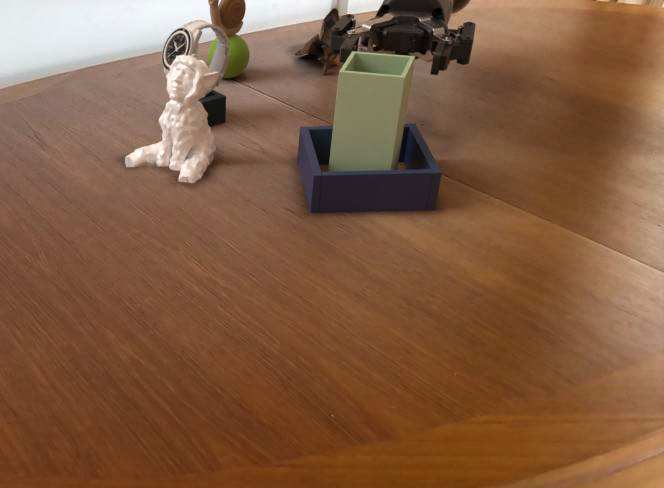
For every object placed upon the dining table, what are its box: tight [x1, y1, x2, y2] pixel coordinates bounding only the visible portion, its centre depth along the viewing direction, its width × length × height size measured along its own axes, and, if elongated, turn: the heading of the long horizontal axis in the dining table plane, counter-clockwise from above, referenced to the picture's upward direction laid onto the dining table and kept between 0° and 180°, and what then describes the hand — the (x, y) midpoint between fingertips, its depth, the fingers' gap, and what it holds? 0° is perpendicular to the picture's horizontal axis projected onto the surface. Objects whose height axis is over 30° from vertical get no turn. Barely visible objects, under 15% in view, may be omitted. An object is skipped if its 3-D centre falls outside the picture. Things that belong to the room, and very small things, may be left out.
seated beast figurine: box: [124, 55, 219, 184], centre depth 91 cm, size 10×9×12 cm
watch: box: [161, 19, 230, 128], centre depth 102 cm, size 6×8×11 cm
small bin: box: [327, 51, 416, 172], centre depth 84 cm, size 6×6×12 cm
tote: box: [296, 123, 443, 214], centre depth 87 cm, size 12×12×5 cm
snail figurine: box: [207, 0, 250, 79], centre depth 113 cm, size 5×6×12 cm
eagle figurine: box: [294, 7, 340, 76], centre depth 117 cm, size 8×7×9 cm
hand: (390, 61), depth 88 cm, fingers open, 8 cm apart
